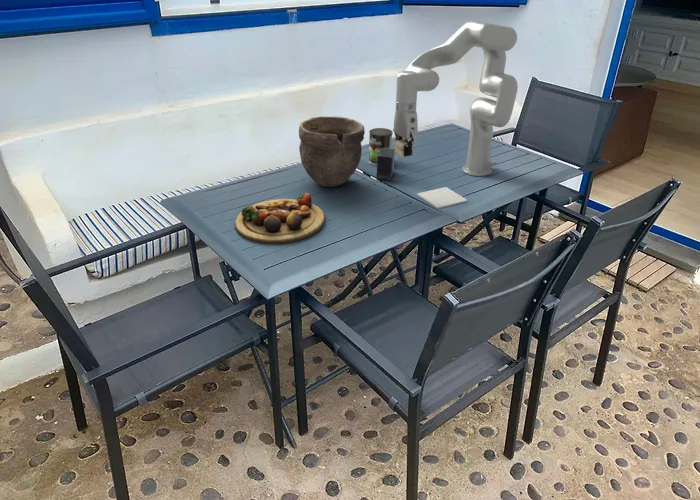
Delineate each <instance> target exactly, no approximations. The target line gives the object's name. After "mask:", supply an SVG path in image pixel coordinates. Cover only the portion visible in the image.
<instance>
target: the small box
mask: <svg viewBox="0 0 700 500" xmlns="http://www.w3.org/2000/svg"><path fill="white" fill-rule="evenodd" d="M395 159H396V154H395V148H391V149H388V148H381V150H380V152H379V154H378V156H377V165H376V175H375V176H376V178H375V179H376V180H383V181H384V180H385V181H391V179H392V176H393V174H394V171H395Z"/></svg>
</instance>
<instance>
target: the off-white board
mask: <svg viewBox="0 0 700 500" xmlns="http://www.w3.org/2000/svg"><path fill="white" fill-rule="evenodd" d="M416 195H417V196H418V197H419V198H421V199H423V200H424V201H426V202H427V203H428V204H430V205H431V206H433V207H435V208H436V209H442V208H446V207H451V206H455V205H459V204H463V203H466V202H468V199H466V198H465V197H464V196H461V195H460V194H458V193H457V192H455V191H453V190H451V189H450V188H448V187H447V186H445V187H440V188H436V189H432V190H427V191H426V190H425V191H422V192H418V193H416Z"/></svg>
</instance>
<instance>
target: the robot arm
mask: <svg viewBox="0 0 700 500" xmlns="http://www.w3.org/2000/svg"><path fill="white" fill-rule="evenodd" d="M517 40H518V33H517V31H516V30H515V29H514V27H511V26H505V25H500V24H494V23H489V22H483V21H482V22H481V21H477V20H476V21H475V20H468V21H466V22H464V23H463V24H462V25H461V26H460V27H459V28H458V29H456V30H455V32H454V33H453V34H452V35H450V36H449V38H447V39H446V40H445V41H444V42H443V43H442V44H441V45H438V46H436V47H435V46H434V47H433V48H432V49H428V50H427V51H425V52H423V53H421V54H420V55H418V56H417V57H416V58H415V59H413V61H412V62H411V63H410V64H409V65H408V66H407V67H406V69H405V70H401V71H399V72H398V73H397V75H396V92H395V94H396V95H395V110H394V119H393V129H392V130H393V131H392V132H393V133H394V137H395V141H397V140H402V139H405V146H404V156H406V157H410V155H411V156H413V155H412V146H413V147H414V144H415V143H416V142H417V141H418V140H417V137H418V129H419V128H418V127H419V126H418V125H419V123H418V122H419V121H418V113H417V105H418V104H417V100H418V92H431V91H433V90H436V88H437V87H438V85H439V83H440V76H439V74H438V73H437V71H434V70H433V69H435V68H437V67H442V66H443V67H444V66H450V65H454V64H456V63H458V62H459V61H460V60H461V59H462V58H463V57H464V56H466V54H468V52H469V51H471V49H473V48H474V47H476V48H481V50H482V51H483V55H484V56H483V64H482V70H481V74H480V78H479V84H478V85H479V86H478V89H479V91H480V92H481V93H482V94H484V95H486V96H490V97H491V98H488V97H477V98H476V99H475V100H473V101H472V103H471V105H470V109H469V114H470V115H469V116H470V127H469V128H470V129H469V137H468V138H469V139H468V148H467V154H466V163H465V164H463V165H462V168H461V171H462V172H463V174H466V175H469V176H472V177H473V176H474V177H485V176H489V175H490V174H491V173H492V168H491V167H492V166H495V165H497V164H498V160H497V159H495V160H492V159H490V158H491V151H492V144H493V143H492V142H493V137H494V128H493V127H496V128H504V127H505V126H506V125H507V124H509V122H510V120H511V116H512V115H513V110H514V106H515V102H516V99H517V93H518V81H517V79H516V77H514V76H513V75H511V74H507V73H505V68H506V63H507V53H506V52H508V51H510V50H512V49H513V48H514V47H515V45H516V43H517ZM492 97H493V98H496V100H495V99H492ZM408 140H409V142H408Z"/></svg>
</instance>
